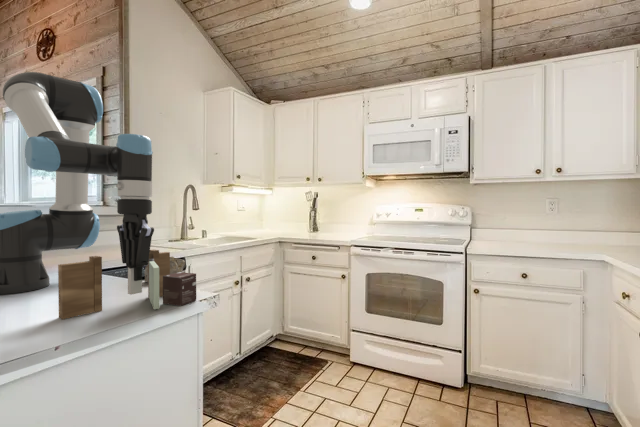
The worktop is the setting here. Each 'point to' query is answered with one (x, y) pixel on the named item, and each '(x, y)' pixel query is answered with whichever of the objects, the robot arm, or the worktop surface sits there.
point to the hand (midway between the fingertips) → (134, 292)
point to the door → (154, 284)
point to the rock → (175, 267)
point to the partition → (94, 284)
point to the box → (179, 288)
